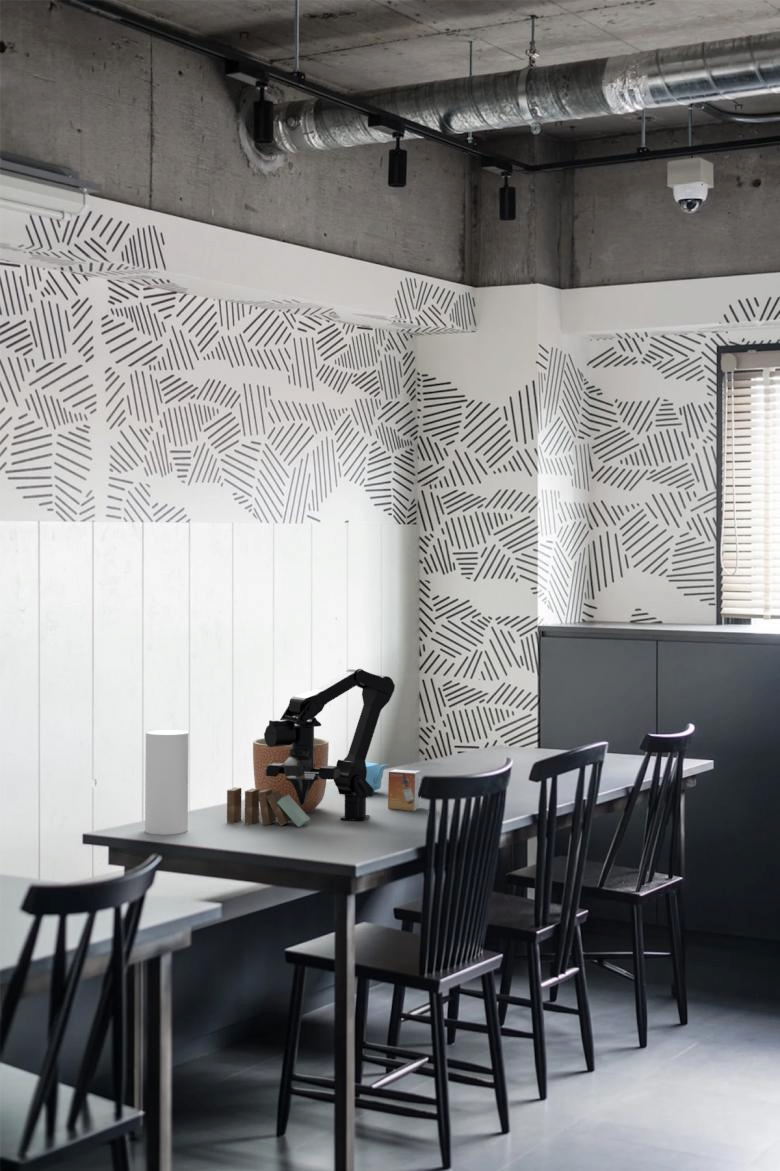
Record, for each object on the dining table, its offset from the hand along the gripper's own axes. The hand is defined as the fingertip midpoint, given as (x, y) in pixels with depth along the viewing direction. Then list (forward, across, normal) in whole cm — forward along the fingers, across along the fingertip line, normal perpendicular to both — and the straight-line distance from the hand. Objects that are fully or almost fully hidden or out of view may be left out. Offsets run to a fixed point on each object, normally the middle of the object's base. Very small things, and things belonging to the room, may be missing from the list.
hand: (302, 804), depth 371 cm
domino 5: (+5, +1, 0) cm, 5 cm away
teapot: (+6, -1, +56) cm, 56 cm away
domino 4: (+5, -4, 0) cm, 7 cm away
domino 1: (+6, -19, 0) cm, 20 cm away
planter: (+6, -11, +21) cm, 24 cm away
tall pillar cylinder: (+6, -30, -18) cm, 35 cm away
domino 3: (+5, -9, 0) cm, 10 cm away
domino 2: (+6, -14, 0) cm, 15 cm away
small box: (+6, +18, +34) cm, 39 cm away
